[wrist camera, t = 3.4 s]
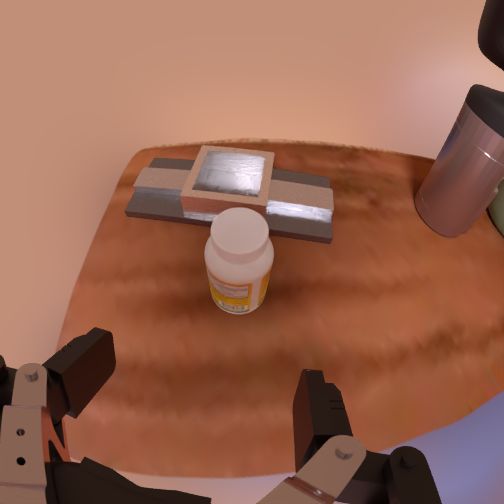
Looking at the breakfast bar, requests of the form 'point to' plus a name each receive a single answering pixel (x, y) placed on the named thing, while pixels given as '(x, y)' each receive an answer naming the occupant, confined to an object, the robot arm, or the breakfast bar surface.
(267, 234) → the supplement bottle
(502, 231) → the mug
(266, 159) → the rail collar
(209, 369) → the breakfast bar surface
